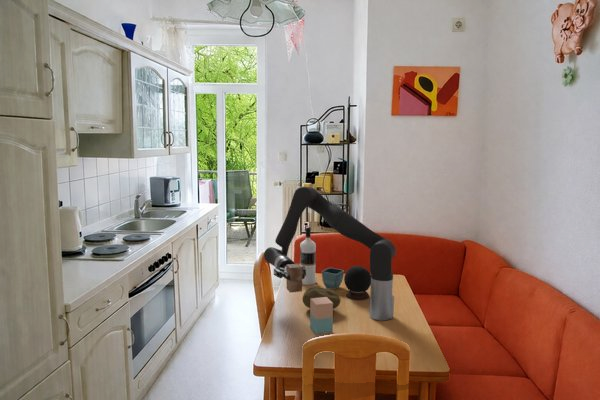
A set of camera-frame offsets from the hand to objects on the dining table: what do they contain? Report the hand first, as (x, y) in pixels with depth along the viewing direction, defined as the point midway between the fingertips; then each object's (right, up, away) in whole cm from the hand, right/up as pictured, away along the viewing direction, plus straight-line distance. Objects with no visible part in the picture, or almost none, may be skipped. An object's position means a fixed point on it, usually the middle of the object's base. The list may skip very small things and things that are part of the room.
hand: (296, 277), depth 175 cm
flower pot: (+18, -15, +54) cm, 59 cm away
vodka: (+5, -14, +61) cm, 63 cm away
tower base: (+10, -22, +4) cm, 24 cm away
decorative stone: (+11, -19, +24) cm, 32 cm away
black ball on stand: (+29, -17, +42) cm, 54 cm away
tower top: (+10, -16, +3) cm, 19 cm away
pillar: (-1, -6, +3) cm, 7 cm away
